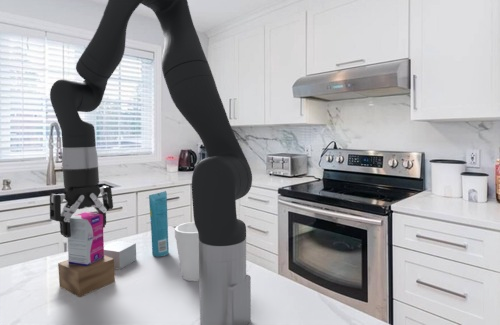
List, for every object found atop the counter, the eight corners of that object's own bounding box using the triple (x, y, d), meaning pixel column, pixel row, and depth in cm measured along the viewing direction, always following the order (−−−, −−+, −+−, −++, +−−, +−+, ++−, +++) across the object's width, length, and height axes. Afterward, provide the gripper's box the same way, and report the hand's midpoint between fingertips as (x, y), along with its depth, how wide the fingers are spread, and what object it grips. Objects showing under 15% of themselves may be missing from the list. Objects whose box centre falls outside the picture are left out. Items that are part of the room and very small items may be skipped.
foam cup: (168, 277, 83) (167, 228, 81) (194, 264, 90) (193, 220, 89) (194, 287, 77) (193, 235, 76) (219, 273, 85) (219, 226, 83)
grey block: (136, 259, 94) (135, 243, 93) (119, 269, 87) (119, 251, 87) (117, 256, 96) (116, 240, 96) (99, 266, 89) (98, 249, 89)
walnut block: (115, 281, 80) (113, 258, 80) (79, 297, 73) (78, 272, 72) (94, 272, 85) (93, 251, 85) (59, 286, 78) (58, 263, 77)
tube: (161, 248, 102) (159, 190, 100) (173, 250, 101) (172, 191, 99) (146, 257, 95) (143, 194, 94) (159, 259, 94) (157, 195, 92)
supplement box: (88, 266, 75) (85, 219, 74) (67, 264, 77) (65, 217, 75) (105, 257, 81) (103, 213, 79) (86, 255, 82) (83, 211, 81)
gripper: (57, 170, 68) (62, 243, 70) (116, 164, 80) (120, 226, 81) (40, 168, 72) (46, 237, 74) (99, 162, 84) (103, 222, 86)
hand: (84, 231), depth 78 cm, fingers open, 8 cm apart
